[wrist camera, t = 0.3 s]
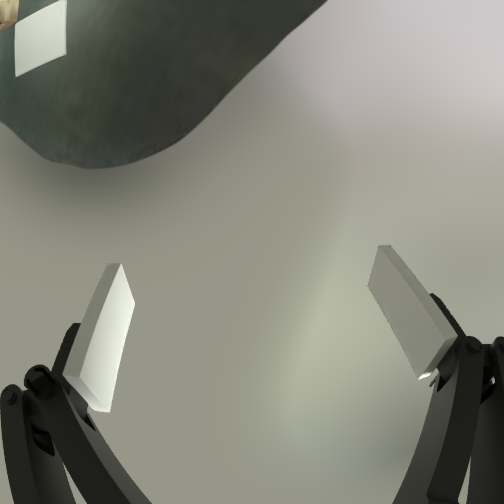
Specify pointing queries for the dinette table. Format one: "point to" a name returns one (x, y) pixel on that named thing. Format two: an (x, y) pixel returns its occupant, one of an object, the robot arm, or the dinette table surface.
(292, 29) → the dinette table surface
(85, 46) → the dinette table surface
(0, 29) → the frame
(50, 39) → the mat
